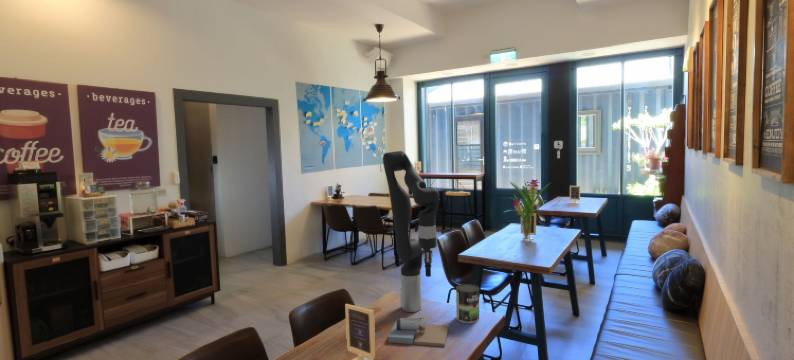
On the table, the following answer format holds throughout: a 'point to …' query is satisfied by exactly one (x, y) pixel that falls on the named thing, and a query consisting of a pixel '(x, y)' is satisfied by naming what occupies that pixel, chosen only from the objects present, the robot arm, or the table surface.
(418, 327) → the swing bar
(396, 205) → the robot arm
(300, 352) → the table surface
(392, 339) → the frame
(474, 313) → the coffee can
